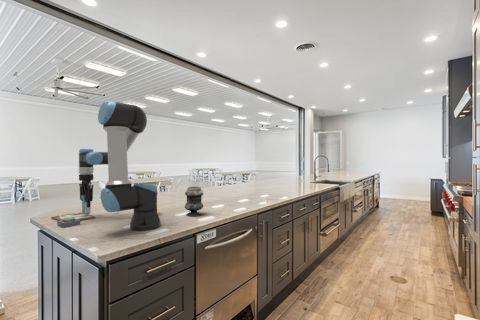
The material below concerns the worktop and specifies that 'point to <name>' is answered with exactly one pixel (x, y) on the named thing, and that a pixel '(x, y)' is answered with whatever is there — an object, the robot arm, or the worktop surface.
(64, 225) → the button housing
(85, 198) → the teal square-headed peg
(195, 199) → the apothecary jar
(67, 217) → the button
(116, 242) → the worktop surface
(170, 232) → the worktop surface
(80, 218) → the clipboard
